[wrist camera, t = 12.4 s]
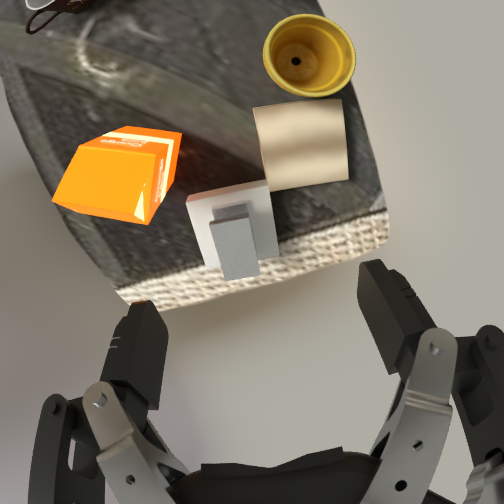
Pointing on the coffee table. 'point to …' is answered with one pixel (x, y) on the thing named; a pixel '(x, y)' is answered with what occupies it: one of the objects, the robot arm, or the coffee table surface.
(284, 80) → the plant pot
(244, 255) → the block
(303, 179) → the stand
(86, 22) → the coffee table surface
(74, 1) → the coffee mug
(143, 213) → the orange juice
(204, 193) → the stand
